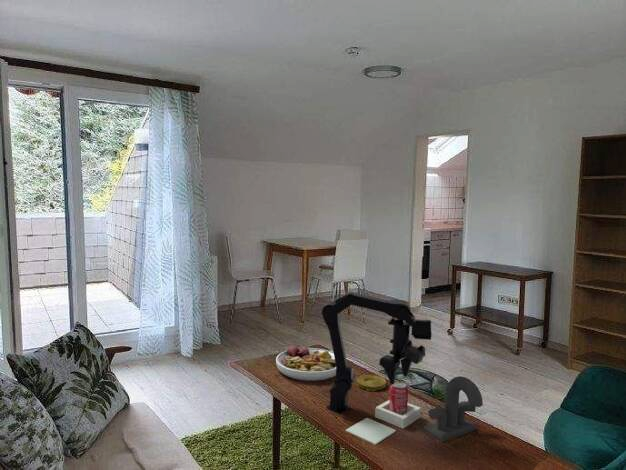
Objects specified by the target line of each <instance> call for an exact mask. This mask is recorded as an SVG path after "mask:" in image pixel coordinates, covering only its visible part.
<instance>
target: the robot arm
mask: <svg viewBox="0 0 626 470" xmlns="http://www.w3.org/2000/svg"><path fill="white" fill-rule="evenodd" d="M350 306H355V307H360V308H364V309H367V310H373V311H376V312H377V311H378V312H381V313H384V314H386V315H388V316H390V317H391V318H390V319H389V320H388V322H387V324H388V325H389V326H390V325H391V326H392V338H391V339H390V341H389V343H390V344H392V345H391V347H392V348H391V350H389V354H390V355H389V354H386V355H384V356H382V357H380V358H379V362H378V365H379V366H381V368H383V369H384V372H385V374H386V375H387V377H388V380H389V383H390V384H391V385H392V384H394V382H396V375H397V371H398V370H399V369H400V368H401V370H402V375H403V377H405V378H406V377H408V374H409V372H410V369H411V366H412V364H415V365H418V364H419V363H421V362H422V361H423V359H424V358H425V357H426V352H427V351H426V347H425V346H424V345H419V346H417V345H413V342H412V340H411V339H410V329H411V336H413V337H412V338H414V339H415V340H425V341H426V340H427V341H431V340H432V320H431V319H417V318H416V316H415V315H414V314H413V313H412V311H411V305H410V303H409V302H408V301H406V300H399V299H389V300H387V299H386V300H385V299H381V298H379V297H378V298H377V297H373V296H368V295H363V294H360V293H355V292H353V291H348V292H347V293H346V294H345V295H342V296H341V297H339V298H337V299H335V300H330V301H328V302H326V303H325V305H324V306H323V307H322V310H321V315H322V319H323V321H324V323H325V325H326V327H327V329H328V332H329V336H330V342H331V346H332V352H333V353H334V358H335V363H336V376H335V379H334V380H333V381H332V384H331V386H330V389H329V405H327V406H326V409H328V410H330V411H332V412H335V413H337V414H342V413H344V412H347V411H348V410H350V409H351V405H349V403H348V400H349V399H348V398H349V394H348V392H349V391H351V389H352V386H353V384H354V381H355V378H356V374H355V372H354V366H353V365H351V366H350V365H349V363H348V361H347V357H346V356H347V355H346V352H345V351H346V349H345V345H344V341H343V340H344V339H343V334H342V330H341V313H342V312H343V311H344V310H346V309H347V308H349V307H350Z"/></svg>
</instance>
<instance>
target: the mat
mask: <svg viewBox="0 0 626 470" xmlns="http://www.w3.org/2000/svg"><path fill="white" fill-rule="evenodd" d="M345 432H347V433H348V434H352V435H353V436H355V437H358V438H360V439H361V440H363V441H366V442H368V443H370V444H372V445H374V446H376V445H377V444H380V442H382V441H383V440H386V438H388V437H390V436H391V435H393V434H394V433H396V432H397V430H396V429H394V428H392V427H389V426H388V425H385V424H383V423H380V422H377V421H375V420H373V419H371V418H368V417H366V418H364V419H363V420H360V421H359V422H357V423H355V424H353V425H351V426H350V427H348V428H346V429H345Z"/></svg>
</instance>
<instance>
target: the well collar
mask: <svg viewBox="0 0 626 470" xmlns="http://www.w3.org/2000/svg"><path fill="white" fill-rule="evenodd" d="M389 404H390V399H388V400H386V401H385V402H383V403H381V404H379V405H377V406H376V407H375V410H374V417H375V418H377V419H379V420H380V421H381V420H382V421H384V422H386V423H387V424H388V423H389V424H391V425H393V426H396V427H399V428H400V429H405V428H406V427H408V426H410V425H411V424H413V423H414V422H415V421H417V420H419V419H420V418H421V410H422V407H419V406H417V405H415V404H413V403H412V404H411V403H409V402H408V403H407V413H406V414H404V415H403V416H402V415H399V414H396V413H394V412H391V411H389Z"/></svg>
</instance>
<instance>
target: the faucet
mask: <svg viewBox="0 0 626 470" xmlns="http://www.w3.org/2000/svg"><path fill="white" fill-rule="evenodd" d="M460 391H462V392H463V393H464V394H465V395H466V397H467V400H464V401H463V400H462V401H460ZM483 404H484V401H483V397H482V393H481V391H480V389H479V387H478V386H477V385H476V383H474V381H472V379H470V378H468V377H465V376H455V377H452V378H451V379H449V381H448V382H447V384H446V387H445V397H444V408H443V407H434V408H429V410H428V416H429V418H430V420H432V421H434V420H436V422H434V423H431V424H429V425H425V426H423V427H422V431H423V432H424V433H426V434H428V435H429V436H431V437H432V438H434V439H435V440H437V441H439V442H441V443H444V442H447V441H449V440H453V439H455V438H457V437H460V436H463V435H465V434H468V433H470V432H474V431H477V430H478V425H477V424H475V423H473V422H472V421H470V420H468V419H466V418H465V415H466V412H471V413H475V412H476V408H481V407H482V406H483Z"/></svg>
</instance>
